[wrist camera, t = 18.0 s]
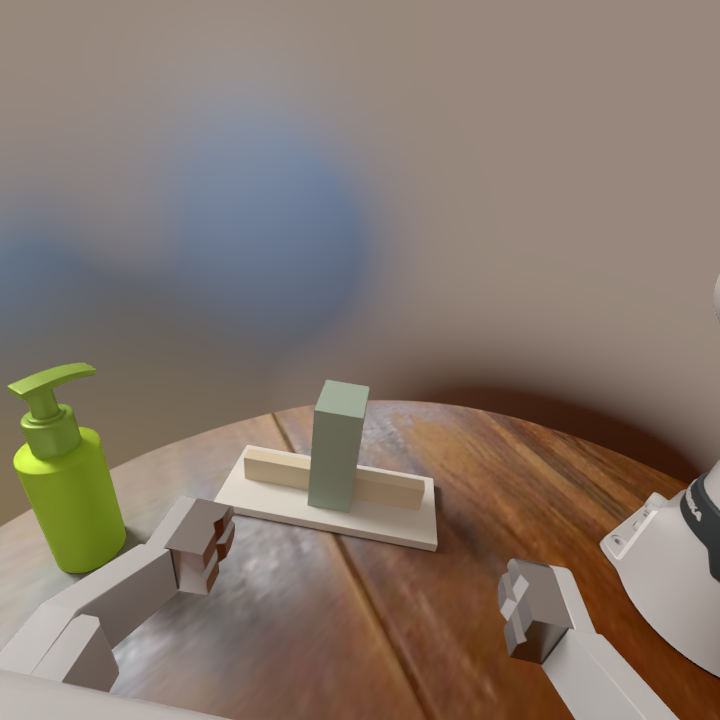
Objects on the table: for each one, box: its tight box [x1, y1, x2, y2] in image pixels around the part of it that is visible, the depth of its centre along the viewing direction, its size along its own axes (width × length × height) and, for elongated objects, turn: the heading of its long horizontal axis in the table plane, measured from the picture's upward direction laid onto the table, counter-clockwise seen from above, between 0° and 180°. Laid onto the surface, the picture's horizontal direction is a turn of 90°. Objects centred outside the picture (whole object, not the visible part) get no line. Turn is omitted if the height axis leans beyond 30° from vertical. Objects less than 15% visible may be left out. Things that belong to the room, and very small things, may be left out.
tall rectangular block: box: [307, 380, 369, 513], centre depth 43 cm, size 5×6×14 cm
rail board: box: [214, 445, 438, 552], centre depth 46 cm, size 26×10×5 cm, turn 83°
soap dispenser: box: [7, 363, 126, 573], centre depth 33 cm, size 6×7×20 cm
